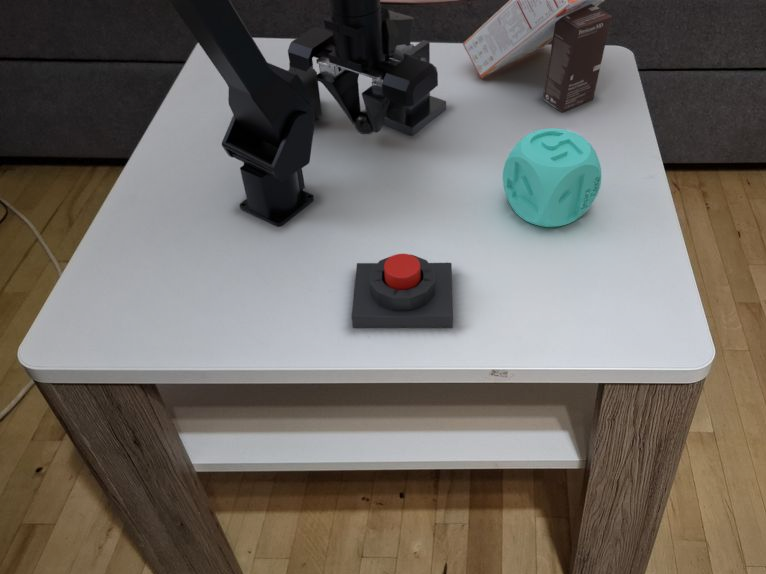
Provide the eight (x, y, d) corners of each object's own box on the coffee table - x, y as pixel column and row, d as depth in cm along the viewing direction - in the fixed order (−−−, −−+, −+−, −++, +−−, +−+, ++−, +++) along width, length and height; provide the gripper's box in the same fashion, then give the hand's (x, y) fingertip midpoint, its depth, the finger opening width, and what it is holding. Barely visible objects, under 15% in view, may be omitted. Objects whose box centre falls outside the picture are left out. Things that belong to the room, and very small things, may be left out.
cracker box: (525, 11, 113) (623, -71, 95) (543, 48, 114) (644, -26, 96) (459, 41, 107) (550, -41, 89) (479, 80, 108) (573, 7, 90)
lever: (373, 142, 96) (365, 129, 93) (355, 135, 97) (346, 122, 95) (422, 58, 97) (415, 43, 95) (403, 52, 99) (396, 37, 96)
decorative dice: (542, 237, 84) (550, 177, 78) (499, 201, 89) (504, 141, 83) (596, 212, 87) (608, 152, 81) (552, 178, 92) (560, 120, 86)
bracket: (413, 135, 99) (411, 64, 91) (364, 118, 102) (359, 48, 95) (446, 109, 103) (447, 39, 96) (399, 92, 106) (396, 24, 99)
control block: (352, 328, 75) (349, 303, 73) (358, 274, 81) (355, 249, 78) (452, 328, 75) (453, 303, 72) (451, 274, 80) (451, 249, 78)
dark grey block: (248, 136, 100) (238, 89, 95) (248, 108, 104) (239, 62, 99) (323, 129, 100) (317, 82, 95) (320, 102, 105) (315, 55, 100)
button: (384, 290, 74) (383, 277, 73) (385, 266, 77) (384, 253, 76) (420, 290, 74) (420, 277, 73) (420, 266, 77) (420, 253, 75)
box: (563, 114, 101) (577, 27, 92) (541, 99, 104) (553, 13, 95) (596, 101, 104) (613, 14, 95) (574, 86, 106) (589, 1, 97)
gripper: (463, -4, 85) (462, 118, 97) (335, -39, 92) (348, 79, 104) (407, 37, 79) (413, 162, 91) (274, -3, 86) (296, 117, 98)
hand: (367, 127), depth 96 cm, fingers closed on lever, 3 cm apart
